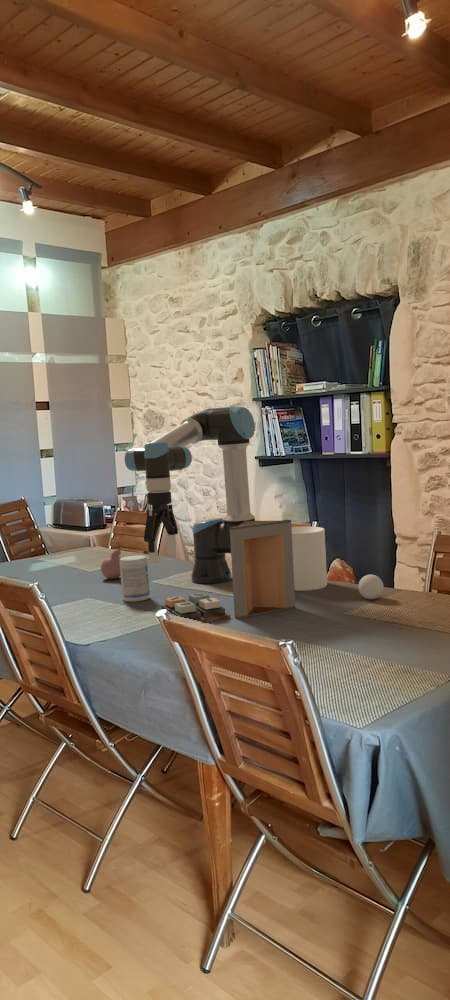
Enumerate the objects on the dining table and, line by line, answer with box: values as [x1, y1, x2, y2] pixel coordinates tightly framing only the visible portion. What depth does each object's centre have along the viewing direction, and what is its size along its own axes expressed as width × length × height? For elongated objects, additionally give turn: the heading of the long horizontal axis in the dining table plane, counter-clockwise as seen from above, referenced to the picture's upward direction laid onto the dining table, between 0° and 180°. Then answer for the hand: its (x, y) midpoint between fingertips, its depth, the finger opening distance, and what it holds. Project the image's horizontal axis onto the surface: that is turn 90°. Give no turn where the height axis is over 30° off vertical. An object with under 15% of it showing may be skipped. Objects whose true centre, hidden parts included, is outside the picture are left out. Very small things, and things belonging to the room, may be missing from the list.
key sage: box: [175, 602, 196, 614], centre depth 230 cm, size 5×5×2 cm
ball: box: [357, 573, 384, 600], centre depth 244 cm, size 8×8×8 cm
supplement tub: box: [120, 555, 151, 603], centre depth 263 cm, size 10×10×15 cm
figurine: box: [100, 548, 122, 580], centre depth 302 cm, size 9×11×12 cm
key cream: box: [199, 597, 222, 610], centre depth 233 cm, size 5×5×2 cm
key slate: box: [188, 592, 210, 604], centre depth 241 cm, size 5×5×2 cm
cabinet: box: [230, 519, 296, 620], centre depth 237 cm, size 21×10×28 cm, turn 117°
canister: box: [291, 526, 328, 592], centre depth 269 cm, size 16×16×20 cm
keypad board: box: [161, 600, 231, 624], centre depth 236 cm, size 17×19×3 cm
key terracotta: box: [164, 595, 186, 608], centre depth 238 cm, size 5×5×2 cm
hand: (163, 558), depth 238 cm, fingers open, 13 cm apart
